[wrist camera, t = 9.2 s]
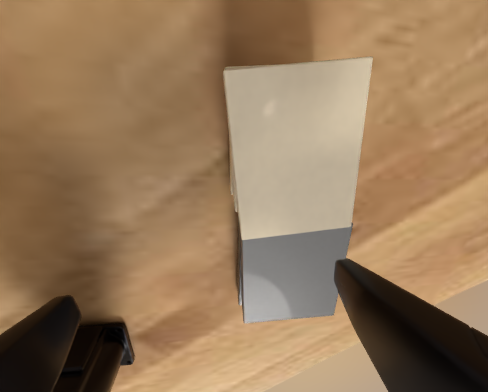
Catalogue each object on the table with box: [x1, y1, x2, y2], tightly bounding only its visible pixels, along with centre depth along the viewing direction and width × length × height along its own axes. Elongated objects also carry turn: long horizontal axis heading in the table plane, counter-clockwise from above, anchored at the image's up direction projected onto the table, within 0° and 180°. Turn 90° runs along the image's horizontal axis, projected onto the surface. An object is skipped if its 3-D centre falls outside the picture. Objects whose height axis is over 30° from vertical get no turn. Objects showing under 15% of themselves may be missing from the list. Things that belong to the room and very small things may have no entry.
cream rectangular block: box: [223, 56, 373, 240], centre depth 12 cm, size 8×6×3 cm
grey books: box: [238, 217, 353, 323], centre depth 20 cm, size 10×9×4 cm
